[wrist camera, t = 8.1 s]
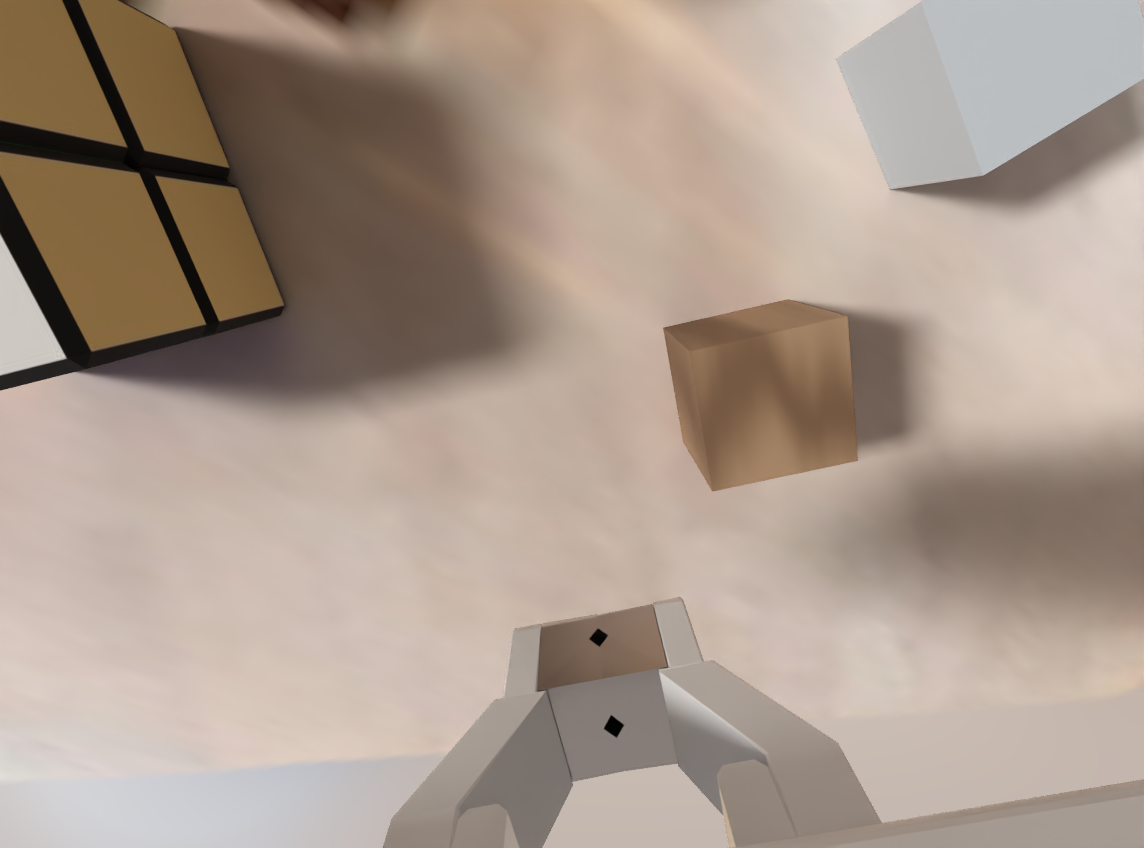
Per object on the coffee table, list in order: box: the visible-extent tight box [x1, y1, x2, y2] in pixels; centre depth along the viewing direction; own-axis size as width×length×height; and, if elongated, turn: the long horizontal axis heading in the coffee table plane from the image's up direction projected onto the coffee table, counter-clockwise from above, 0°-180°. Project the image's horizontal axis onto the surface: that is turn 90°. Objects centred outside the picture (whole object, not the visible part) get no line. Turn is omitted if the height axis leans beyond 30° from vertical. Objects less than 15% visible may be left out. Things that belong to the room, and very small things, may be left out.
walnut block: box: [663, 300, 858, 491], centre depth 21 cm, size 5×5×5 cm
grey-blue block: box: [836, 0, 1144, 189], centre depth 18 cm, size 5×5×5 cm
